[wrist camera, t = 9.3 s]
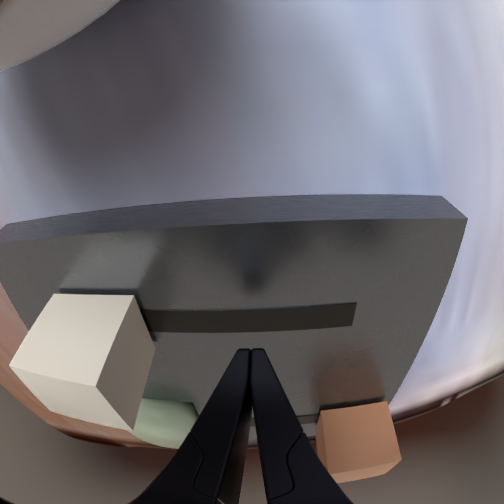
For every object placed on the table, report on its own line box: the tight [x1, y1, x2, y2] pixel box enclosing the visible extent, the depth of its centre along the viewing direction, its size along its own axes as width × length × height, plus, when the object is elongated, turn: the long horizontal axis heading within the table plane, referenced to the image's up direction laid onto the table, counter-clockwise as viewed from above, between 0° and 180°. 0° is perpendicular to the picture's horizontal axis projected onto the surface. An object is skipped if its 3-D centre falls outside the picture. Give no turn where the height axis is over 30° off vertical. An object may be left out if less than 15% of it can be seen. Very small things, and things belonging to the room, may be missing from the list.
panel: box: [0, 195, 468, 439], centre depth 14 cm, size 20×16×2 cm
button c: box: [128, 398, 199, 448], centre depth 16 cm, size 4×4×3 cm
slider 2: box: [315, 401, 401, 483], centre depth 14 cm, size 4×3×4 cm
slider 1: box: [9, 294, 156, 431], centre depth 9 cm, size 4×3×4 cm
